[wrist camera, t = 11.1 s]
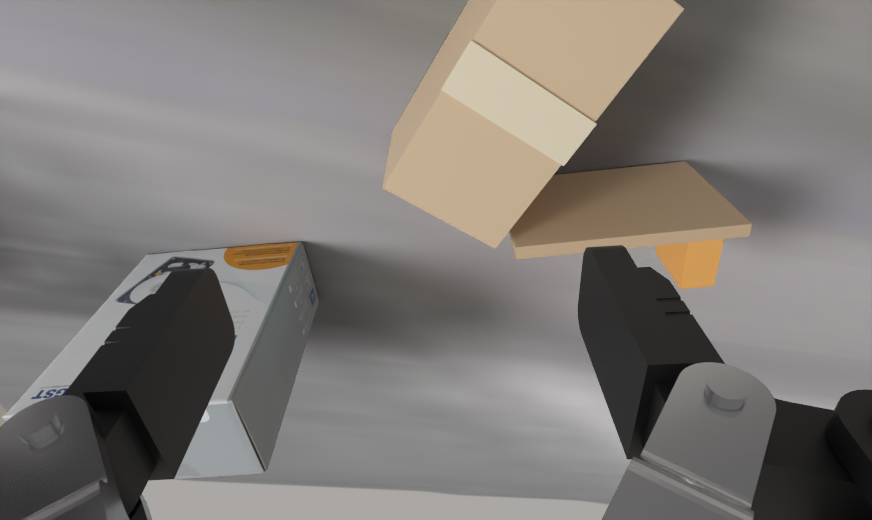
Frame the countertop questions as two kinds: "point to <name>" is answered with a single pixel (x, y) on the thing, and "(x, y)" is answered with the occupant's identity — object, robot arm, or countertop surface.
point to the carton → (514, 103)
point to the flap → (634, 218)
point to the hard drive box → (249, 361)
